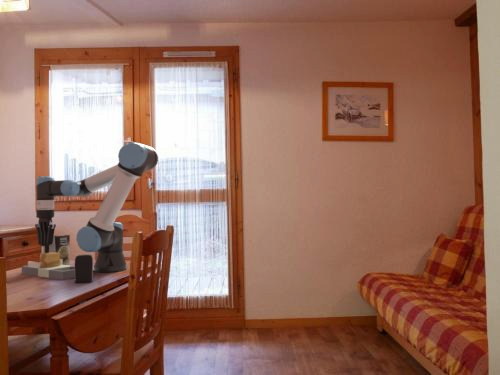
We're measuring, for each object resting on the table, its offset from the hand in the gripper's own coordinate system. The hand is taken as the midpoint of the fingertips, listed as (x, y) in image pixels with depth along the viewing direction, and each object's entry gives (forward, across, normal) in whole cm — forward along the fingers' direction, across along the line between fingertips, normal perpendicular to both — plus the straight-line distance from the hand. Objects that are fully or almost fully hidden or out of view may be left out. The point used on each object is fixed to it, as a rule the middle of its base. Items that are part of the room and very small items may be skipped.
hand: (45, 259), depth 188 cm
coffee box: (+6, -12, +14) cm, 20 cm away
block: (+3, +4, 0) cm, 5 cm away
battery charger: (+7, +34, -4) cm, 35 cm away
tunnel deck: (+6, +7, 0) cm, 9 cm away
